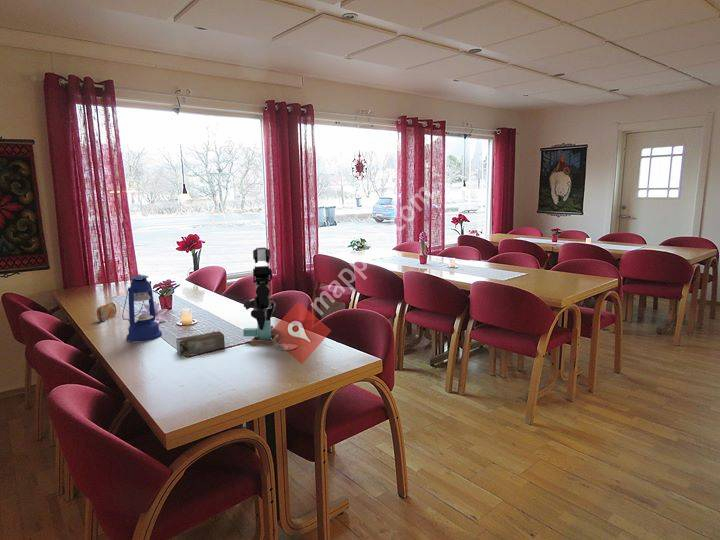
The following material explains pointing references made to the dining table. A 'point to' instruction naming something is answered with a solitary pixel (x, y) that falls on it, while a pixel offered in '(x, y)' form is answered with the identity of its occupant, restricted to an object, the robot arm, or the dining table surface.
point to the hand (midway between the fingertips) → (264, 326)
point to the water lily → (155, 312)
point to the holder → (262, 342)
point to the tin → (106, 311)
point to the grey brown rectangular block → (200, 343)
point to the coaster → (283, 347)
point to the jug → (260, 331)
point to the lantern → (145, 323)
